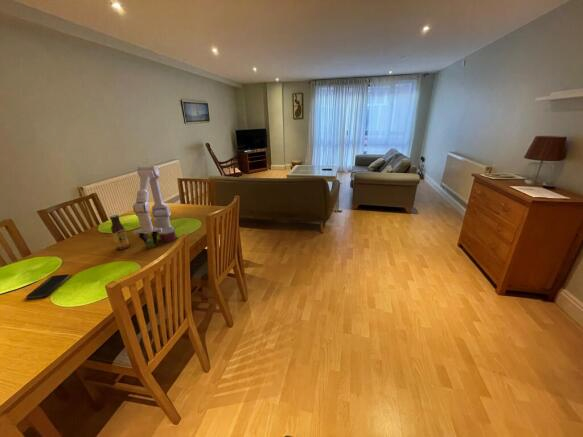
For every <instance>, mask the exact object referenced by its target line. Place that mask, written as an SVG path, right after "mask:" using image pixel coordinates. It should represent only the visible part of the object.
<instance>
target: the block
mask: <svg viewBox="0 0 583 437" xmlns="http://www.w3.org/2000/svg"><path fill="white" fill-rule="evenodd" d="M147 239H148V240H147V241H146V244H145V246H146V248H147V249H151V248H156V247H157V244H158V242H157V243H156V244H154V240H153V238H152V237H151V238H147Z"/></svg>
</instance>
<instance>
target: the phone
mask: <svg viewBox="0 0 583 437" xmlns="http://www.w3.org/2000/svg"><path fill="white" fill-rule="evenodd" d="M68 279H70V274H58V275H56V274H55V275H52V276H49V278H48V279H46V280H44V281H43V282H42V283H41V284H40V285H38V286H37V287H36V288H34V289H33V290H31V292H29V293H28V294H27V295H26V296H25V298H26V299H27V300H34V299H35V300H36V299H44V298H46V297H49V296H50V295H51V294H53V292H54V291H55V290H57V289H58V288H59V287H60V286H61V285H62V284H64V283H65V282H66V281H67V280H68Z"/></svg>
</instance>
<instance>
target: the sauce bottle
mask: <svg viewBox="0 0 583 437" xmlns="http://www.w3.org/2000/svg"><path fill="white" fill-rule="evenodd" d="M109 219H110V221H111V227H110V230H111V235H112V238H113V240H114V244H115V247H116V249H117V250H125V249H128V248H129V247H130V242H129V239H128V235H127V231H126V228H125V227H124V225H123V224H122V223H121V220H120V215H119V214H113V215H110V216H109Z"/></svg>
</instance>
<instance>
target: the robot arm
mask: <svg viewBox="0 0 583 437" xmlns="http://www.w3.org/2000/svg"><path fill="white" fill-rule="evenodd" d="M136 171H137V172H136V173H137V174H138V177H139V190H137V191H136V192H137V193H136V198H135V199H136V200H135V203H134V204H133V205H132V209H133V213H134V214H135V216H136V217H137V220H138V222H139V225H140V229H136V230H135V229H134V230H133V235H134V236H136V235H138V237H139V238H140V239H141V240H142V241H143V242H144V244H145V245H146V241H147V240H148V239H149V238H148V235H147V234H150V236H151V239H152V238H153V240H154V244H156V243H157V244H158V236H159V234H158V232H162V228H166V227H173V228H175V226H172V224H171V221H170V216H171V208H170V205H169V204H168V203H166V202H164V200H163V195H162V191H161V187H160V182H159V179H160V178H161V177H160V176H161V175H160V170H159V168H158V166H157V165H155V164H154V165H139V166H137V169H136ZM149 186H150V190H151V194H152V198H153V205H152V206H151V205H150V202H149V199H150V192H149V191H148V190H149ZM150 206H151V207H150ZM150 211H151V214H150ZM150 215H152V217H153V218H154V219H153V223H152V219H151V216H150ZM153 225H154V226H153Z"/></svg>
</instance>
